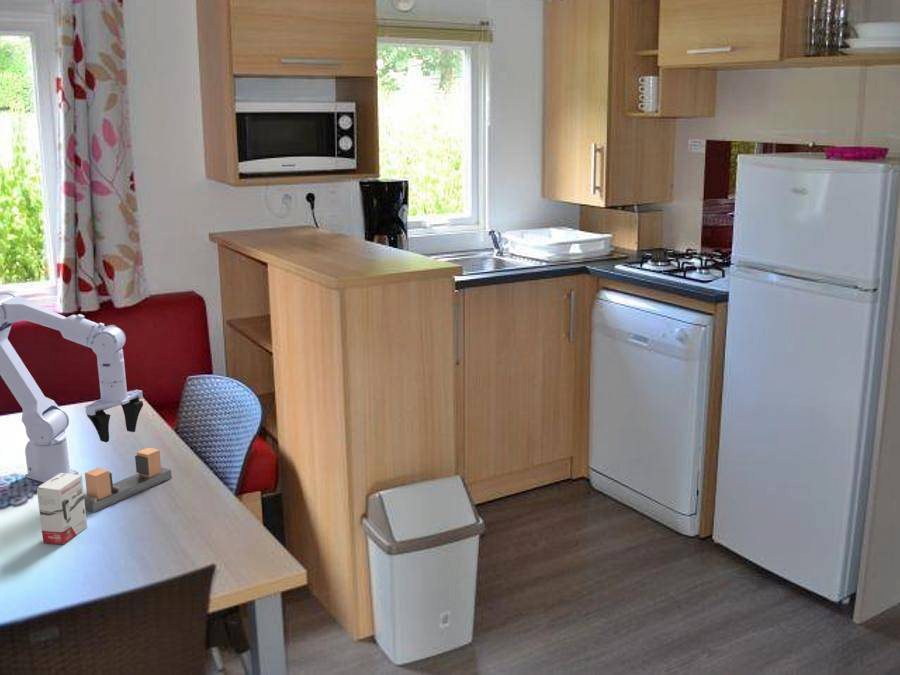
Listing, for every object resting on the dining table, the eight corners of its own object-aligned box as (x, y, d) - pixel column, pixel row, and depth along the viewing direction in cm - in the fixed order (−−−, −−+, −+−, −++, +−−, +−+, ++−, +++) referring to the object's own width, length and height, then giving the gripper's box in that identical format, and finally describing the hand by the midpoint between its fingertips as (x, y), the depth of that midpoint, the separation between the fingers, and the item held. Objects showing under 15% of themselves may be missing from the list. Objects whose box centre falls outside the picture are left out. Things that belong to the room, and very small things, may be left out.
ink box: (64, 545, 187) (57, 489, 184) (42, 543, 187) (35, 488, 185) (88, 526, 195) (83, 473, 192) (67, 524, 196) (61, 471, 193)
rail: (78, 507, 204) (76, 494, 203) (156, 473, 222) (155, 461, 222) (93, 512, 201) (92, 499, 201) (171, 477, 220) (170, 465, 219)
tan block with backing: (87, 496, 205) (84, 473, 203) (102, 490, 208) (100, 466, 207) (98, 500, 203) (95, 476, 202) (113, 493, 206) (111, 469, 205)
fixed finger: (136, 475, 216) (134, 452, 215) (150, 469, 219) (148, 447, 218) (147, 478, 214) (145, 455, 213) (161, 472, 218) (159, 450, 216)
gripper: (98, 390, 207) (104, 448, 211) (149, 374, 219) (154, 429, 223) (76, 385, 211) (83, 443, 214) (128, 370, 223) (133, 424, 226)
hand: (118, 436), depth 219 cm, fingers open, 7 cm apart
